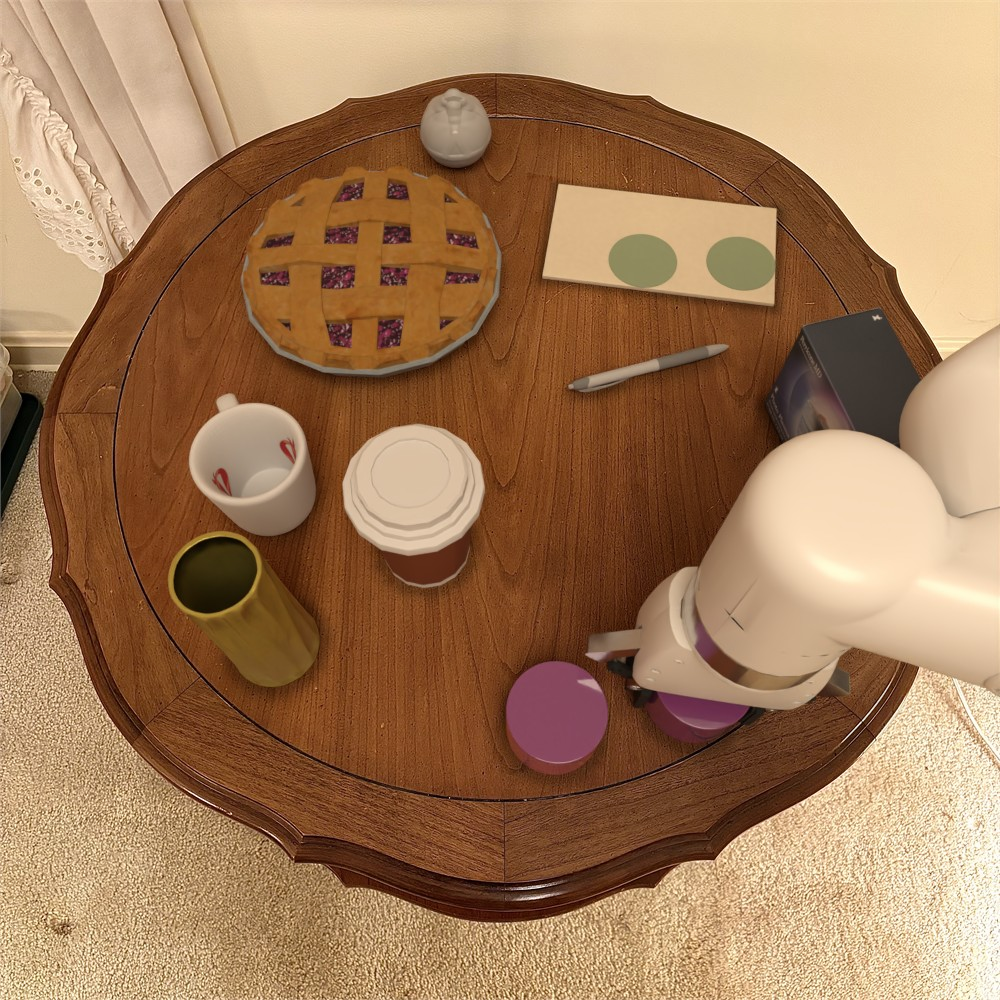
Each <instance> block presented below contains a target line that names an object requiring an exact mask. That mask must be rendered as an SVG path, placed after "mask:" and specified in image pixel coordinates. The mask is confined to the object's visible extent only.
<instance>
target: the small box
mask: <svg viewBox="0 0 1000 1000" xmlns="http://www.w3.org/2000/svg"><path fill="white" fill-rule="evenodd" d="M921 380H922V378H921V376H920V374H919V373H918V371H917V369H916V368H915V366H914V364H913V362H912V360H911V358H910V357H909V355H908V353H907V352H906V349H905V348H904V346H903V344H902V342H901V341H900V339H899V337H898V335H897V334H896V332H895V330H894V328H893V326H892V324H891V323H890V321H889V319H888V317H887V315H886V313H885V312H884V310H883V308H881V307H873V308H871V309H866V310H862V311H859V312H853V313H849V314H845V315H841V316H836V317H832V318H828V319H823V320H819V321H814V322H811V323H807V324H806V323H805V324H803V325H802V326H801V327H800V331H799V333H798V335H797V337H796V339H795V341H794V343H793V345H792V347H791V349H790V351H789V353H788V355H787V357H786V358H785V361H784V363H783V365H782V367H781V369H780V371H779V373H778V375H777V377H776V379H775V381H774V382H773V384H772V386H771V388H770V391H769V392H768V394H767V397H766V399H765V400H764V402H763V403H764V406H765V409H766V411H767V413H768V415H769V416H770V420H771V422H772V424H773V427H774V428H775V430H776V433H777V435H778V438H779V439H780V442H781V445H782V444H783V443H785V442H787V441H789V440H791V439H792V438H794V437H797V436H800V435H803V434H806V433H810V432H813V431H820V430H827V429H837V430H850V431H856V432H862V433H865V434H868V435H872V436H875V437H878V438H880V439H882V440H884V441H887V442H889V443H891V444H893V445H894V446H896V447H898V448H899V449H900V439H899V424H900V419H901V414H902V411H903V408H904V406H905V404H906V401H907V399H908V397H909V395H910V394H911V392H912V391H913V389H914V388H915V387H916V385H917V384H918V383H919V382H920V381H921Z"/></svg>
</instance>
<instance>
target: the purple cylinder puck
mask: <svg viewBox="0 0 1000 1000" xmlns="http://www.w3.org/2000/svg"><path fill="white" fill-rule="evenodd" d="M644 707H645V709H646V712H647V714H648V715H649V718H650V719H651V721H652V722H653V723H654V724H655V726H656V727H657V728H658V729H659V730H661V732H662V733H664V734H665V735H667V736H668V737H669V738H672V739H674V740H677V741H678V742H679V741H680V742H683V743H689V744H701V743H707V742H710V741H712V740H714V739H716V738H718V737H720V736H721V735H722V734H724V733H725V732H726V731H728V730H729V729H730V728H732V726H734V725H735V724H736V723H738V720H740V719H741V718H742V717H743V716H744V715H745V713H746V712H747V711H748V709H749V707H750V706H747V705H740V704H734V703H727V702H720V701H714V700H708V699H701V698H695V697H689V696H683V695H677V694H671V693H665V692H660V691H655V690H652V695H651V697H650V698H649V700H648V701H647V703H646V704H645V706H644Z"/></svg>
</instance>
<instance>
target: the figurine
mask: <svg viewBox="0 0 1000 1000" xmlns="http://www.w3.org/2000/svg"><path fill="white" fill-rule="evenodd" d="M492 133H493V132H492V127H491V121H490V117H489V115H488V112H487V111H486V109H485V108H484V105H483V104H482V102H481V101H480V100H479V98H477V97H476V96H475V95H472V94H470V93H466V92H463V91H461V90H459V89H458V88H454V87H453V88H449V89H447V90H446V91H445V92H444V93H441V94H439V95H436V96H434V97H433V98H431V100H430V101H429V102H428V104H427V106H426V107H425V109H424V112H423V114H422V117H421V121H420V129H419V138H420V140H421V143H422V145H423V147H424V148H425V150H426V151H427V152H428V155H429V156H430V157H431V158H432V159H433V160H434V161H435V162H436V163H438V164H439V165H442V166H444V167H447V168H451V169H460V168H461V169H462V168H466V167H469V166H471V165H473V164H475V163H476V162H477V161H479V160H480V159H481V158H482V156H483V155H484V154H485V152H486V150H487V148H488V145H489V144H490V142H491V139H492Z"/></svg>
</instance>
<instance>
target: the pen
mask: <svg viewBox="0 0 1000 1000" xmlns="http://www.w3.org/2000/svg"><path fill="white" fill-rule="evenodd" d="M729 348H730V345H729V344H726V343H717V344H716V343H715V344H708V345H702V346H699V347H695V348H690V349H688V350H687V349H686V350H683V351H679V352H675V353H672V354H667V355H663V356H659V357H656V358H653V359H652V358H651V359H649V360H646V361H642V362H638V363H635V364H631V365H627V366H622V367H619V368H615V369H612V370H611V369H610V370H607V371H603V372H599V373H595V374H591V375H588V376H583V377H580V378H577V379H574V380H573V381H572V382H571V383H570V384H568V385H567V388H568V390H574V391H578V392H581V393H589V392H594V391H598V390H602V389H606V388H608V387H613V386H615V385H618V384H620V383H622V382H625V381H627V380H629V379H630V378H632V377H637V376H638V377H639V376H641V375H645V374H648V373H654V372H658V371H663V370H666V369H670V368H671V369H672V368H675V367H678V366H682V365H686V364H689V363H690V364H691V363H694V362H697V361H701V360H705V359H708V358H710V357H715V356H717V355H719V354H721V353H723V352H725V351H726V350H727V349H729Z"/></svg>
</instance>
